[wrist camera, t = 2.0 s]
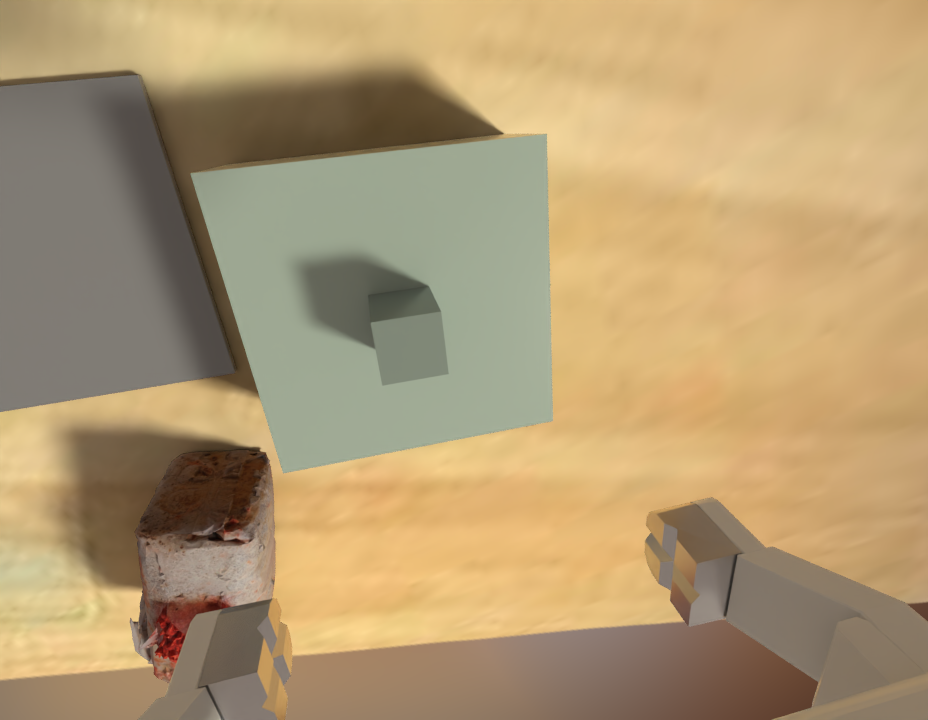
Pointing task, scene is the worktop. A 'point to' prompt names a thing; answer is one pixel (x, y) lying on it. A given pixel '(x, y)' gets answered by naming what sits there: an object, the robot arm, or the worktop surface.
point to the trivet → (96, 250)
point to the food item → (203, 547)
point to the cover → (389, 292)
